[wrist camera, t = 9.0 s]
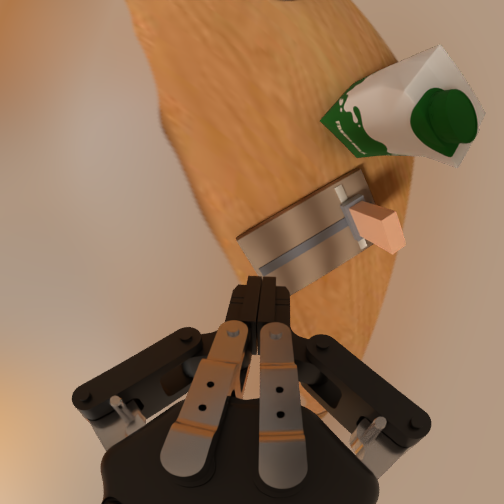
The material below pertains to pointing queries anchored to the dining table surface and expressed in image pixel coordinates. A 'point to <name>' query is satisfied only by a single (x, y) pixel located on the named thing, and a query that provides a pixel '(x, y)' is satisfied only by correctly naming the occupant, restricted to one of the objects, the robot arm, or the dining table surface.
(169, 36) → the dining table surface
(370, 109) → the milk carton
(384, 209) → the fader
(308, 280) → the console
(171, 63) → the dining table surface
